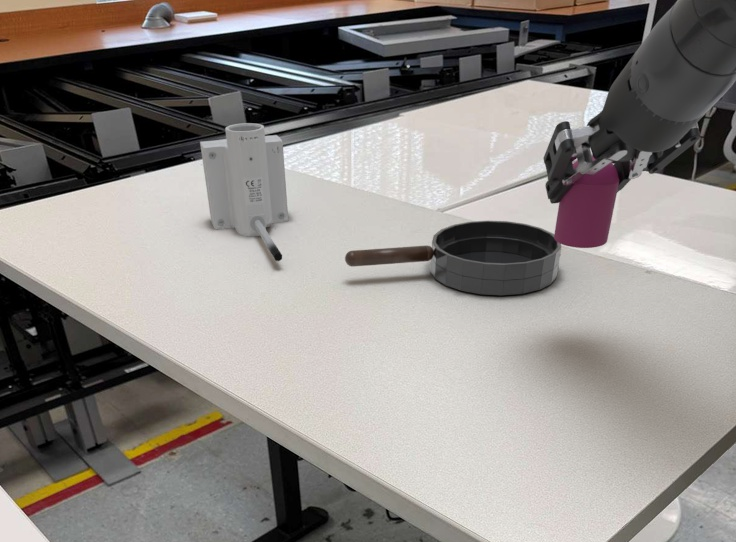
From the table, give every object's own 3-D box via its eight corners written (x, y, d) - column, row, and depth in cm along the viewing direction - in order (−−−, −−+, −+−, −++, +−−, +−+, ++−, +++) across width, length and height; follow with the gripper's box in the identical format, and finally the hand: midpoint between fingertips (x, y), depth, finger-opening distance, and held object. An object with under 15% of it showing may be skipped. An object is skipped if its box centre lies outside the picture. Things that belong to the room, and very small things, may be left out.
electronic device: (282, 213, 121) (274, 113, 111) (321, 267, 102) (316, 152, 92) (210, 221, 118) (196, 120, 109) (236, 278, 99) (222, 161, 90)
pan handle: (431, 257, 97) (432, 242, 96) (435, 262, 95) (435, 247, 94) (344, 263, 96) (343, 248, 94) (346, 269, 94) (345, 254, 93)
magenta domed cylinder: (594, 229, 77) (609, 147, 72) (615, 246, 73) (633, 161, 68) (546, 232, 76) (558, 151, 71) (565, 250, 72) (579, 164, 67)
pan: (531, 248, 106) (535, 217, 103) (574, 293, 93) (581, 259, 90) (419, 256, 104) (420, 224, 101) (447, 303, 91) (449, 268, 88)
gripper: (745, 27, 58) (634, 152, 75) (584, 37, 56) (506, 164, 73) (766, 112, 58) (649, 219, 74) (604, 126, 55) (521, 234, 72)
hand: (579, 191), depth 73 cm, fingers closed on magenta domed cylinder, 5 cm apart
